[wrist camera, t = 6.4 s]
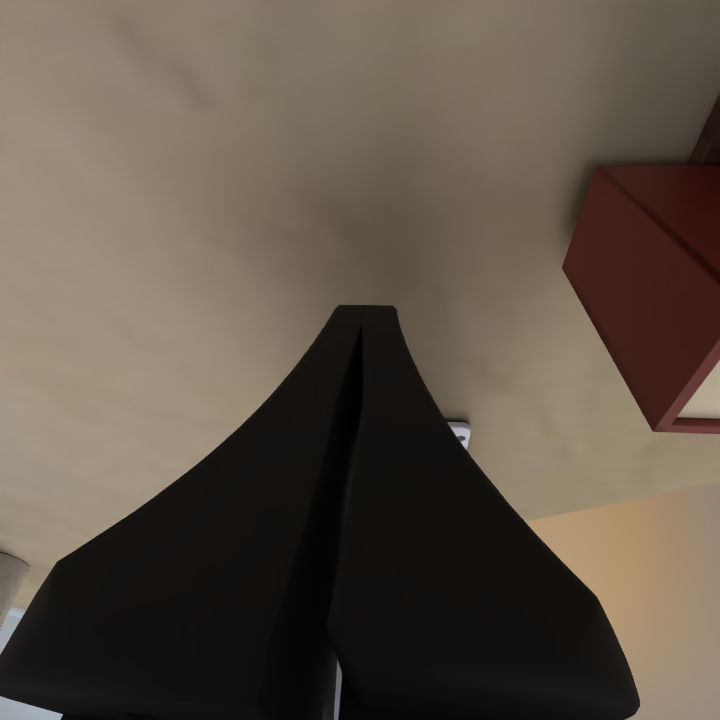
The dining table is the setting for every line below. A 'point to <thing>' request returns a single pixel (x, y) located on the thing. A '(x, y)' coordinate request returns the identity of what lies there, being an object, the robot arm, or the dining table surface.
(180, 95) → the dining table surface
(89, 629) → the robot arm
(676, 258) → the oxblood book
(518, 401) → the dining table surface
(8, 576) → the house plant
